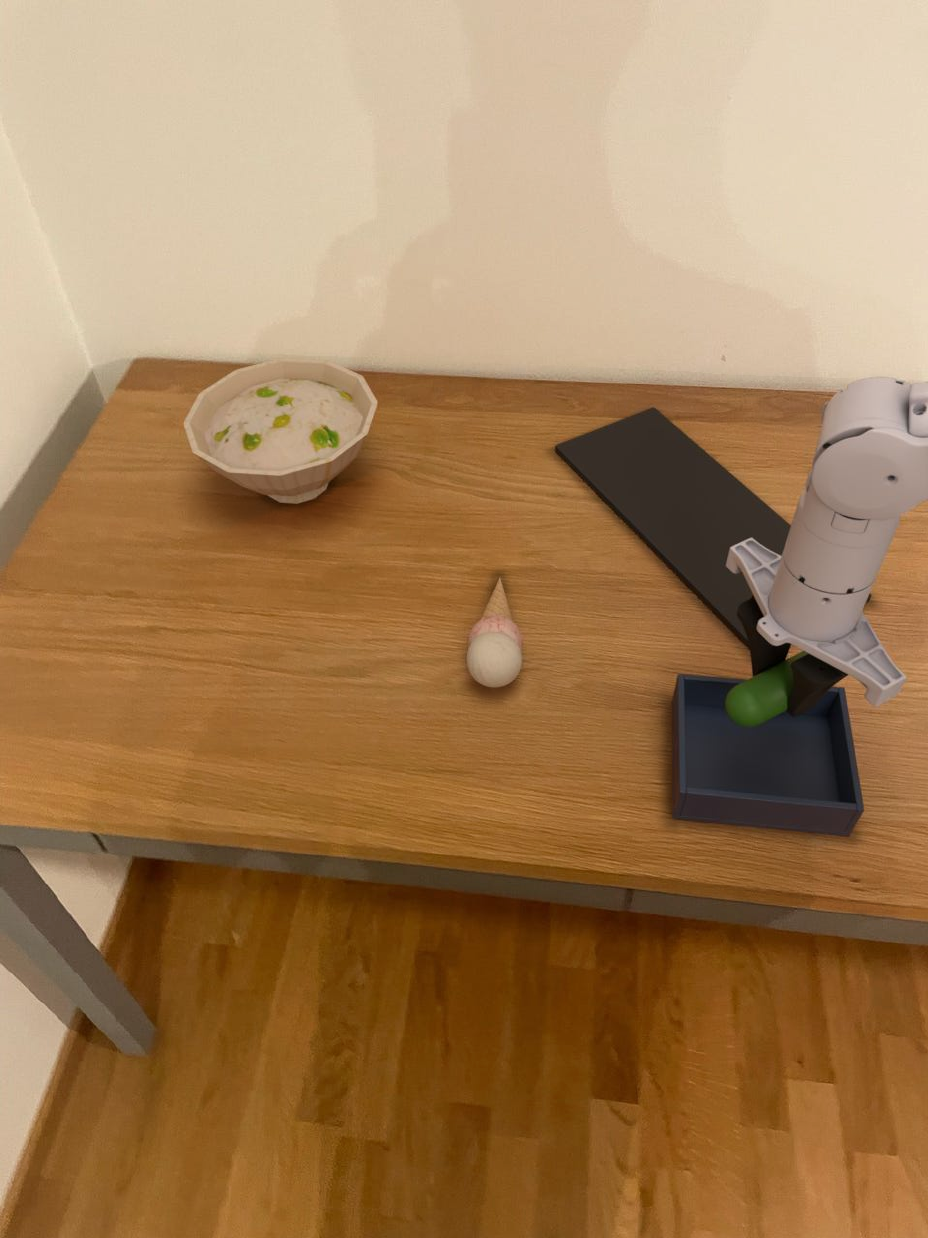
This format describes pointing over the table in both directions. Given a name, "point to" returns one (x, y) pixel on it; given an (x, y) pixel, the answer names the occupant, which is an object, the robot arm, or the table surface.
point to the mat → (678, 504)
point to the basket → (763, 763)
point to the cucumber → (762, 695)
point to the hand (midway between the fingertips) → (782, 690)
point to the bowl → (282, 426)
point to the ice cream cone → (495, 644)
